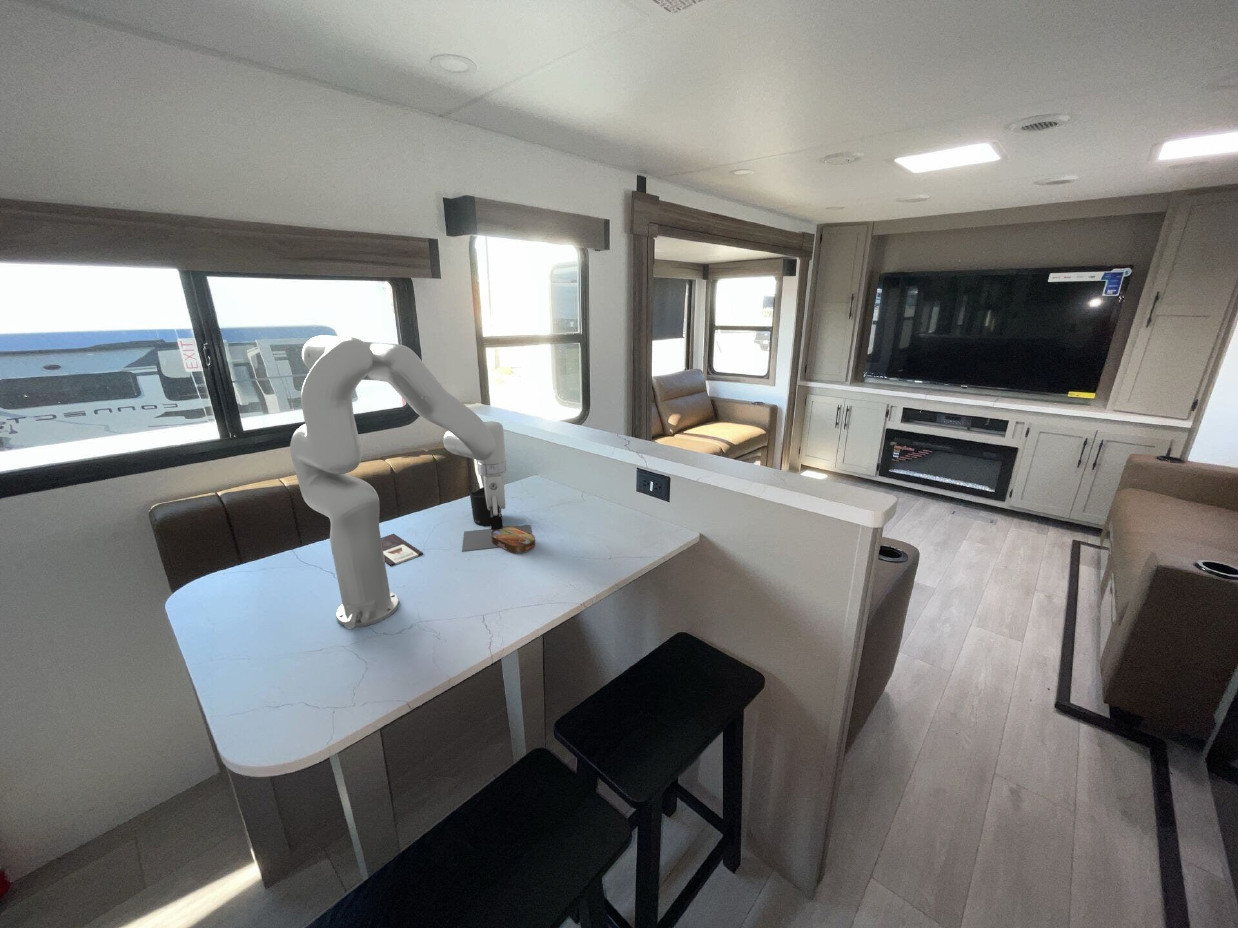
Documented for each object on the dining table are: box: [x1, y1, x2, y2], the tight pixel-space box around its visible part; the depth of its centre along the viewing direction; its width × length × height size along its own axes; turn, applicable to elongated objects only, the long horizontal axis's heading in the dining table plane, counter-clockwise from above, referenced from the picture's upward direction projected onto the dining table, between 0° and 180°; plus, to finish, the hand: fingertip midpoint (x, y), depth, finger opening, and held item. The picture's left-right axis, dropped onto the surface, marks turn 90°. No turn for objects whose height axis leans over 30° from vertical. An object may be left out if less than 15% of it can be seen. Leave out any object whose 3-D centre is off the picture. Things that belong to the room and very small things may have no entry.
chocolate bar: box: [381, 533, 424, 567], centre depth 136 cm, size 9×1×18 cm
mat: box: [461, 524, 533, 552], centre depth 144 cm, size 13×20×1 cm, turn 105°
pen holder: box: [469, 486, 491, 527], centre depth 154 cm, size 9×9×10 cm
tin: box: [490, 525, 536, 554], centre depth 139 cm, size 15×3×8 cm
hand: (497, 528), depth 137 cm, fingers closed
